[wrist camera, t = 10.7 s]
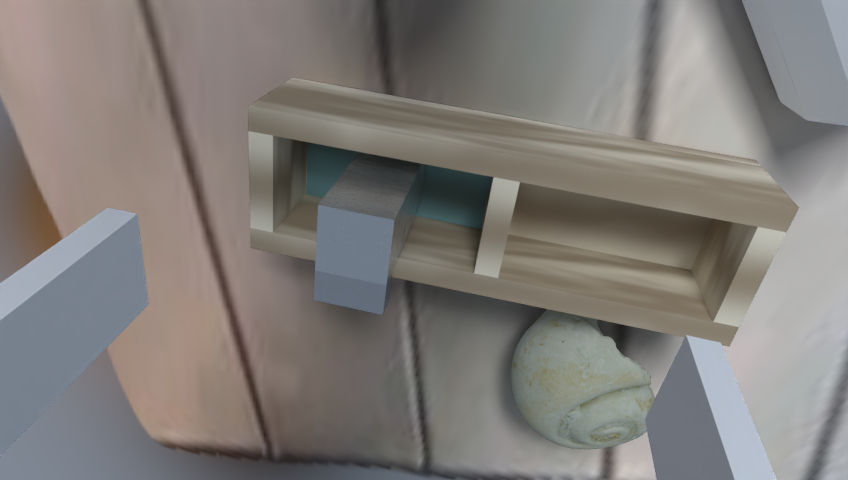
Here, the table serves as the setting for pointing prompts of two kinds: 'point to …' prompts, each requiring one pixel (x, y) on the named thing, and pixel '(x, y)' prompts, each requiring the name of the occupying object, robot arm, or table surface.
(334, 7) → the table surface
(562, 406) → the seashell
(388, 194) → the pale blue pillar block
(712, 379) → the robot arm
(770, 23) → the crystal
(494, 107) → the table surface
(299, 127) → the well block
